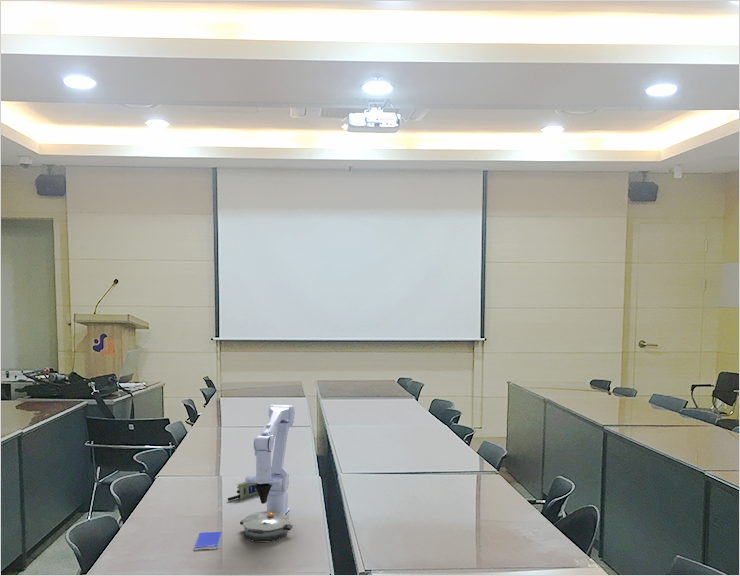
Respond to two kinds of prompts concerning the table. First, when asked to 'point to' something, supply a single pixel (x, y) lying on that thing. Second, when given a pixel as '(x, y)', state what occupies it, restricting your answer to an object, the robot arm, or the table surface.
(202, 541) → the hard drive
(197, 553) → the table surface
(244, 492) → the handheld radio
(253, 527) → the lid
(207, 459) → the table surface
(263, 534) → the cooker pot
